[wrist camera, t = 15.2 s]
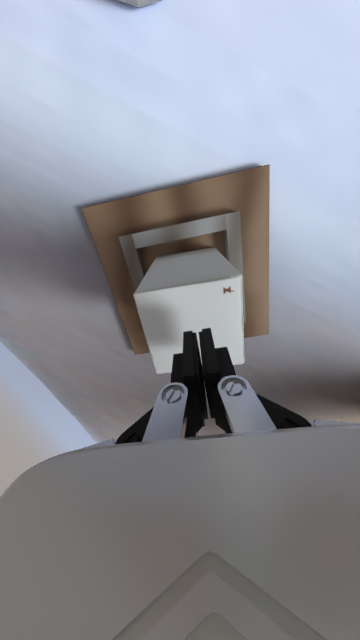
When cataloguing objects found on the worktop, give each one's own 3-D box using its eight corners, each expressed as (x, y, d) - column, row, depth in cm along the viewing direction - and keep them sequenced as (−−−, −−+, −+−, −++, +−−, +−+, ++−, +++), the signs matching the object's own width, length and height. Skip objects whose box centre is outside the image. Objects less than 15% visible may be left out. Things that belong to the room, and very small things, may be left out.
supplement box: (154, 255, 24) (129, 290, 13) (216, 245, 24) (246, 272, 12) (165, 311, 27) (154, 376, 16) (220, 303, 27) (247, 366, 16)
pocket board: (265, 167, 21) (276, 160, 19) (265, 329, 30) (272, 340, 27) (86, 208, 23) (74, 207, 20) (136, 349, 32) (132, 361, 29)
